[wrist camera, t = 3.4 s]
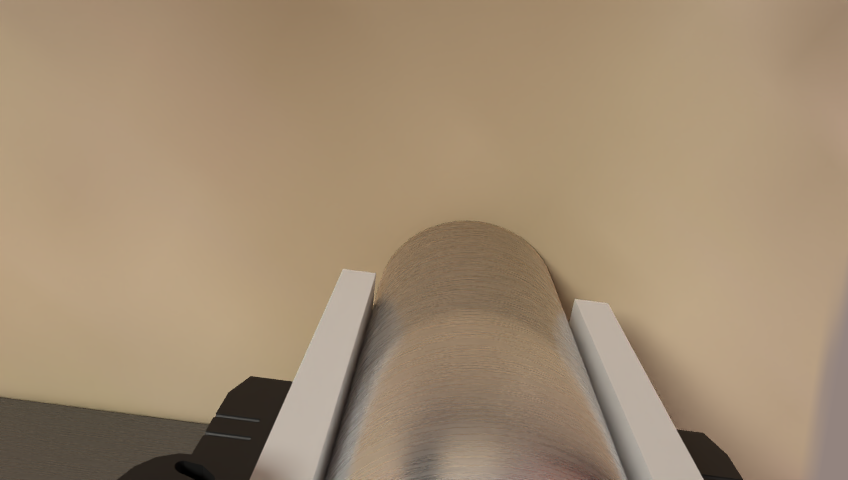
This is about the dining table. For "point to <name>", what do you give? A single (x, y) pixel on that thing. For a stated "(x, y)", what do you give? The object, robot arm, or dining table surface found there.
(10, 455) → the flange plate
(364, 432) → the silver metal cylinder
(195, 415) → the dining table surface
